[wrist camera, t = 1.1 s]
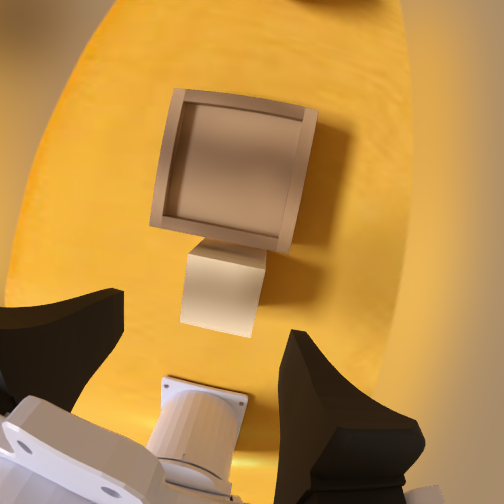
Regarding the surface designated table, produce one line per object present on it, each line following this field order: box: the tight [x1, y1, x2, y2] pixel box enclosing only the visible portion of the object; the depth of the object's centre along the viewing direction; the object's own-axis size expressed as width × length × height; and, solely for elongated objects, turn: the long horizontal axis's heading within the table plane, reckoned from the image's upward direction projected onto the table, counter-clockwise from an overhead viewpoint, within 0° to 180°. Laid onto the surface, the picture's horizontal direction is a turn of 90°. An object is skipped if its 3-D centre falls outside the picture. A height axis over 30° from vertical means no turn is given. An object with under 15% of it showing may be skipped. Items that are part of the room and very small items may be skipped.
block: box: [180, 237, 267, 338], centre depth 20 cm, size 4×4×5 cm
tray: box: [149, 88, 318, 254], centre depth 19 cm, size 9×9×3 cm
